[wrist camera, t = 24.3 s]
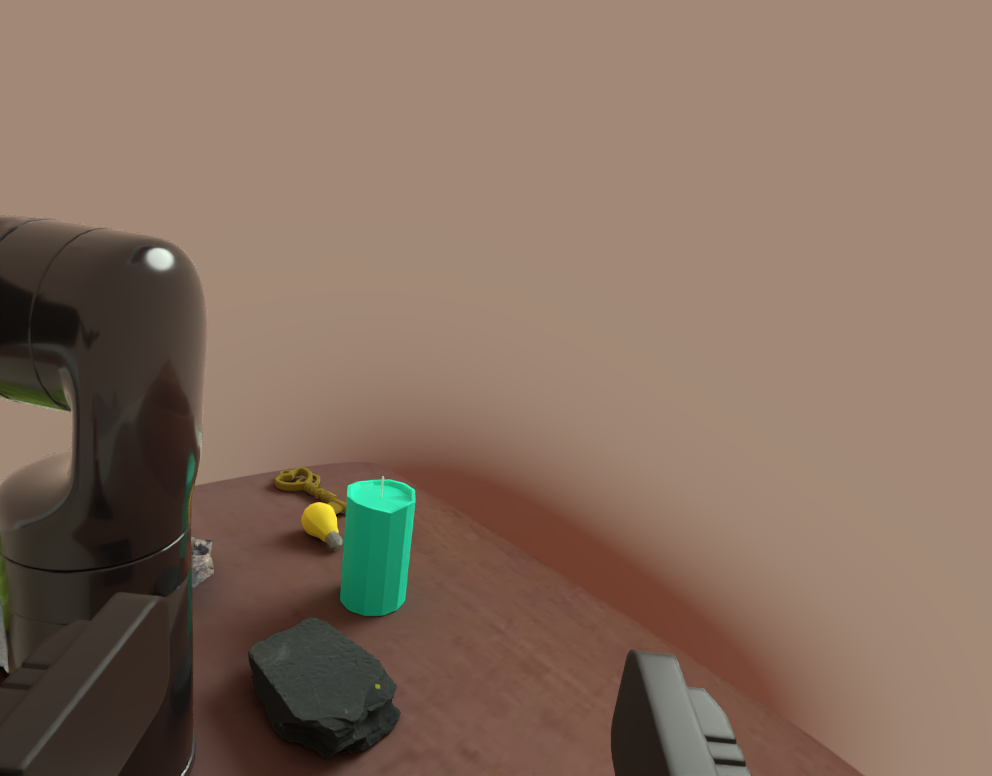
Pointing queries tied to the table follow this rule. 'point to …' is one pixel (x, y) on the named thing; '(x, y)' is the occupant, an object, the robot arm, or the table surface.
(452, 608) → the table surface
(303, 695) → the stone
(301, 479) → the key
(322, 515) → the light bulb
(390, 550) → the candle
